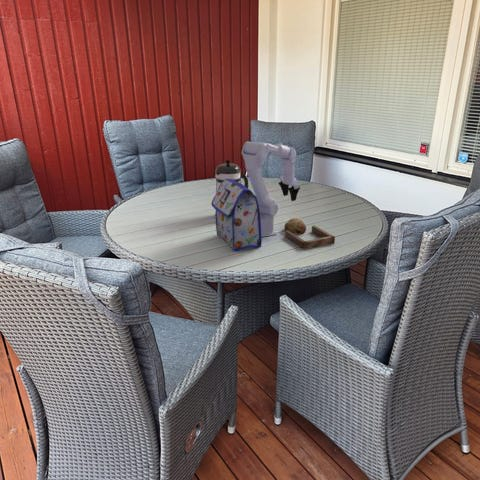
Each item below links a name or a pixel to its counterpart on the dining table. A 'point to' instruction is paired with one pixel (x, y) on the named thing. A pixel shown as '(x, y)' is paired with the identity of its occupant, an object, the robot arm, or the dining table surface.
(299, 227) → the bread roll
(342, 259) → the dining table surface
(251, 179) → the robot arm
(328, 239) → the roll holder
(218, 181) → the coffee press
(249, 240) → the lunch bag
